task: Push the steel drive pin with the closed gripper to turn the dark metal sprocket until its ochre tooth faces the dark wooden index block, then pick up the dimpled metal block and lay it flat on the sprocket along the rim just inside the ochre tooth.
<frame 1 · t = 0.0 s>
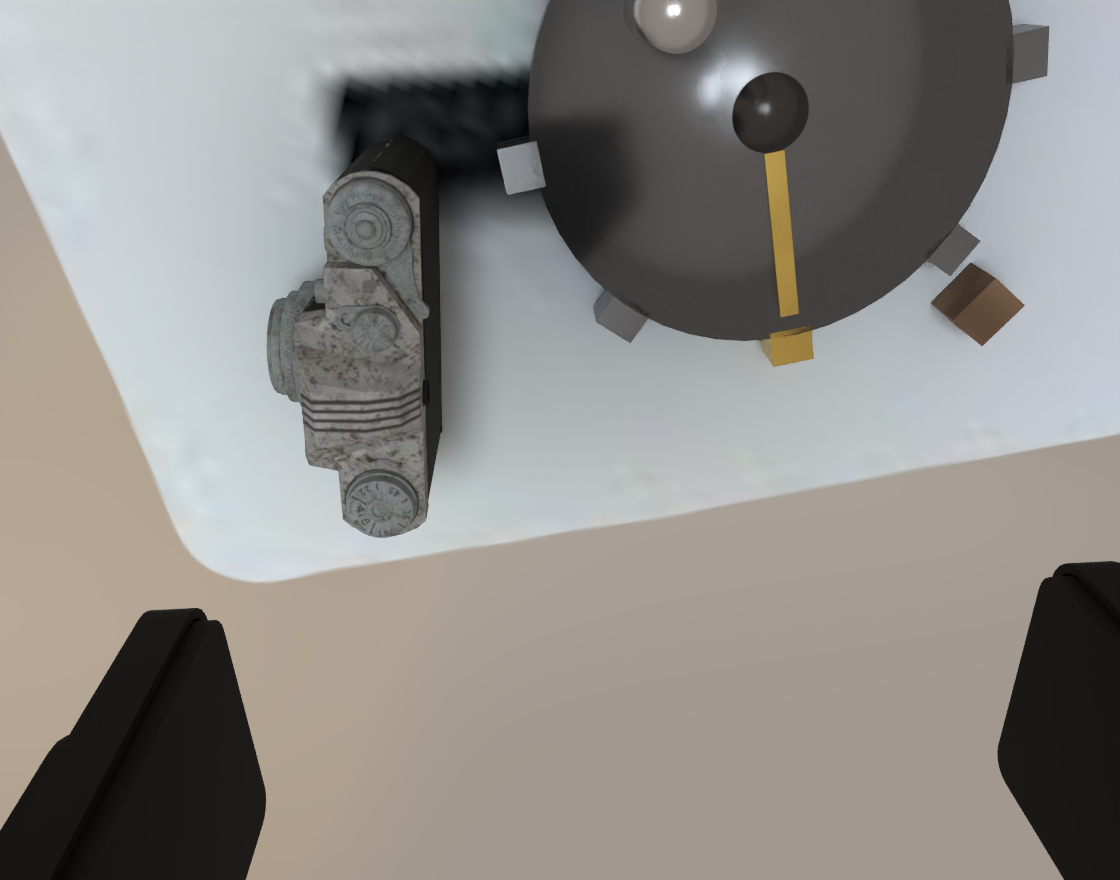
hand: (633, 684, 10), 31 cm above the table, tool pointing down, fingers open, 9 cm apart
sprocket: (782, 119, 33), point 4 cm above the table, hinge at 0.0°
index block: (964, 295, 41), on the table
camera: (371, 302, 41), on the table
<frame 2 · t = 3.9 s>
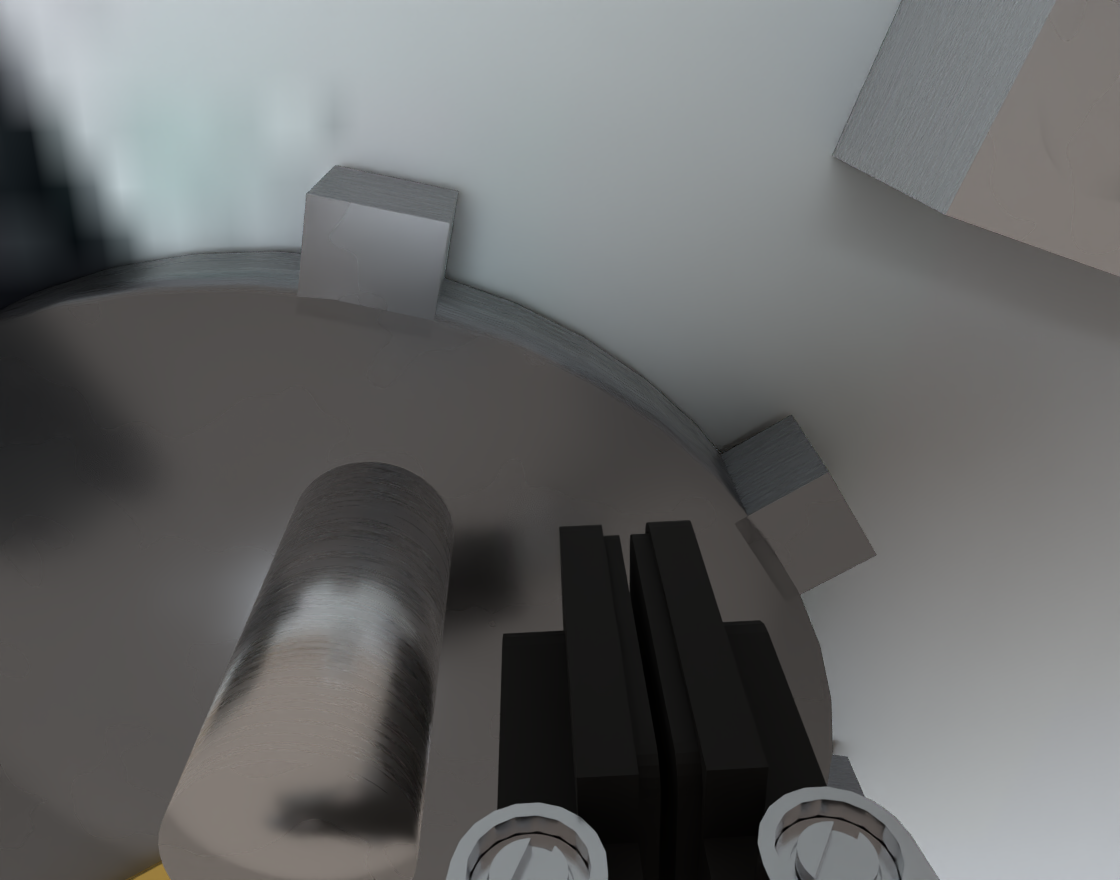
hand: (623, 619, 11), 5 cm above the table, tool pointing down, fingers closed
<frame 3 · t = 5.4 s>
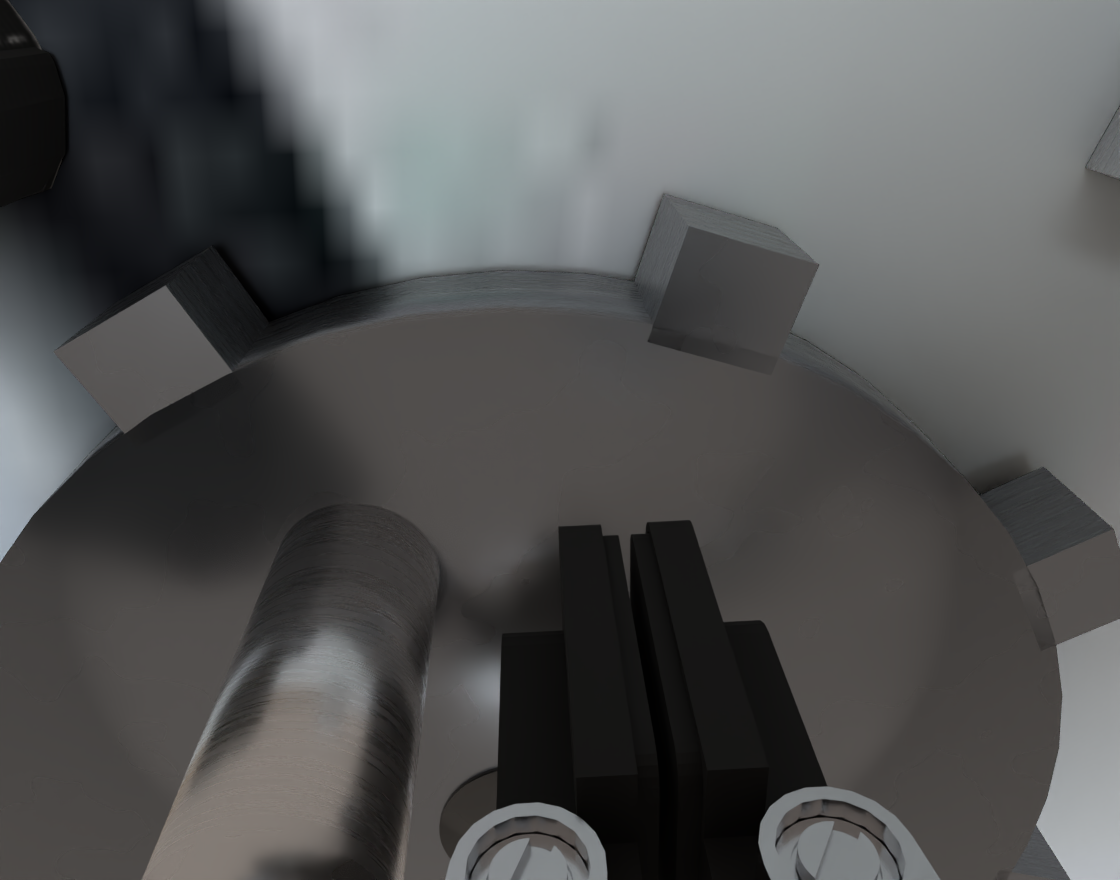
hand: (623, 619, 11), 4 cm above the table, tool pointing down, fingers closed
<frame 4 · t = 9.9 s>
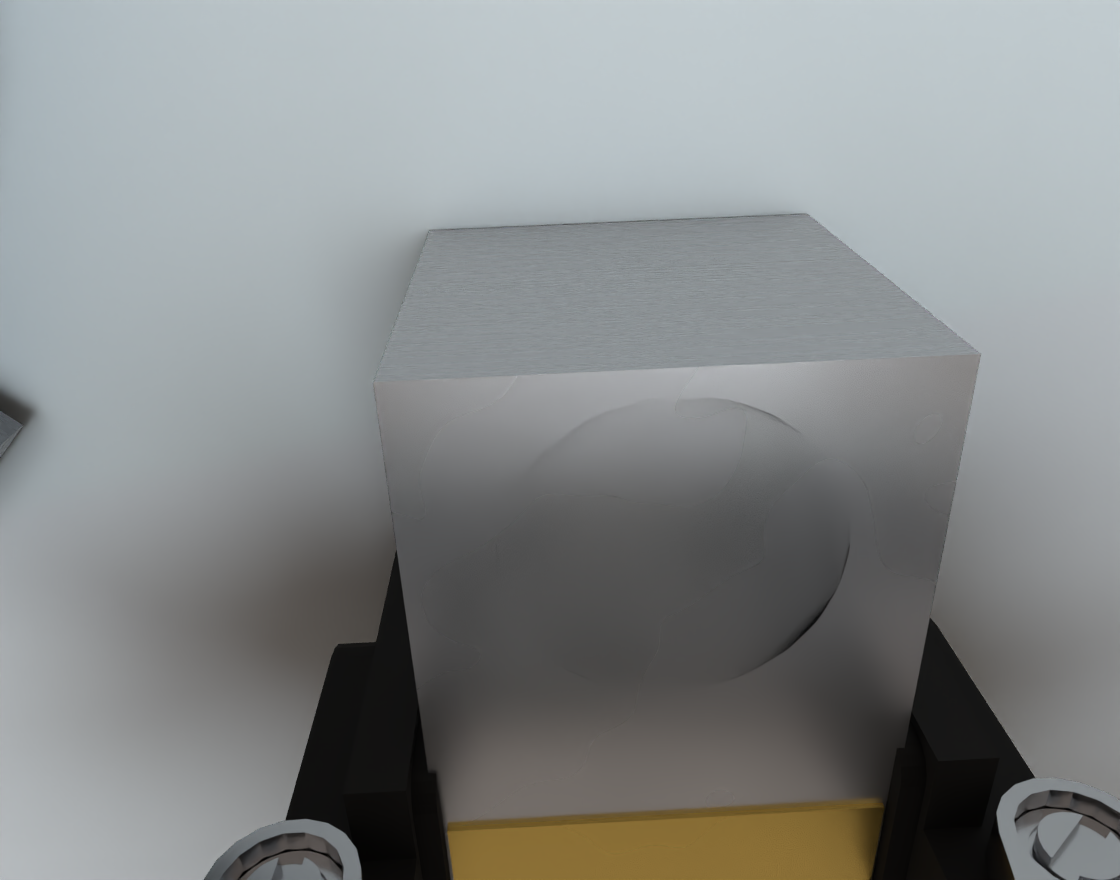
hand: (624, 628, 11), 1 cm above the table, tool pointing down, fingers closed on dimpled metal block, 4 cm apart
dimpled metal block: (621, 604, 12), on the table, touching gripper
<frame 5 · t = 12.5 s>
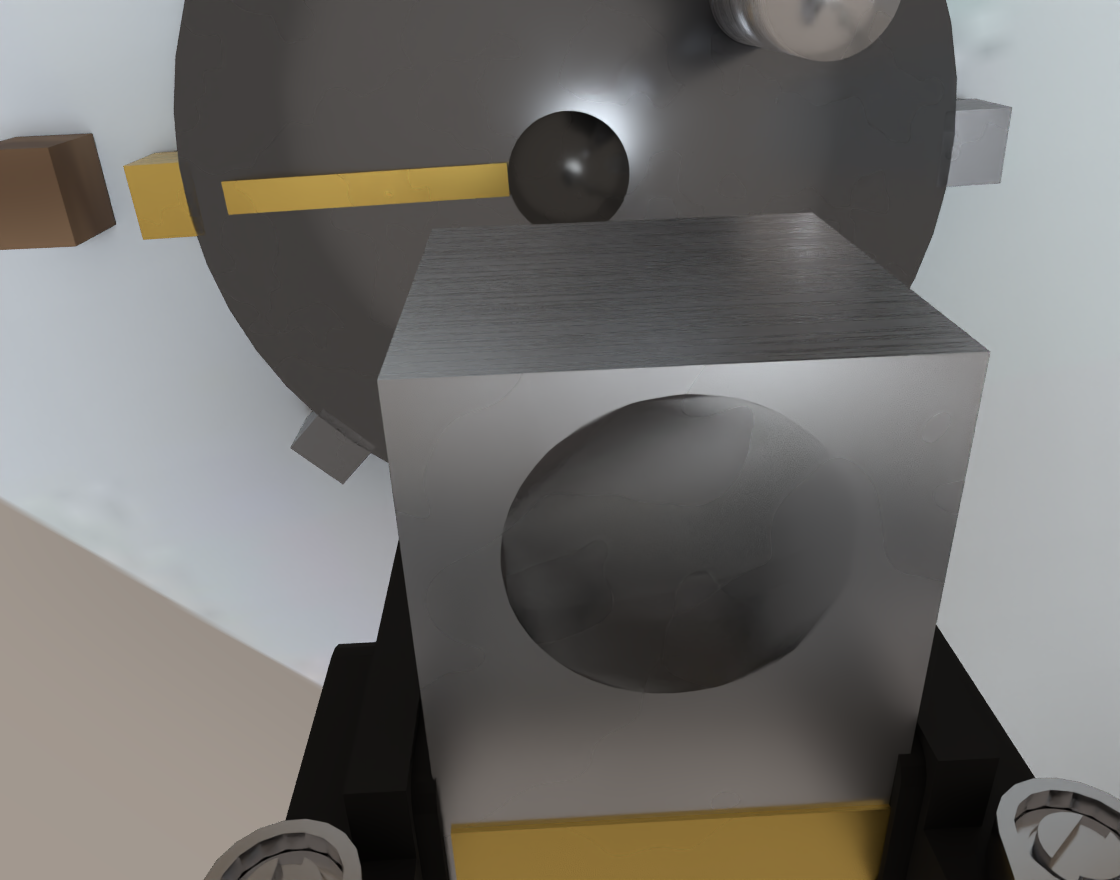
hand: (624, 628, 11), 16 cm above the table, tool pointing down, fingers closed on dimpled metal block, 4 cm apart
sprocket: (571, 189, 20), point 4 cm above the table, hinge at 41.1°
index block: (67, 181, 24), on the table
dimpled metal block: (623, 604, 12), point 16 cm above the table, touching gripper
when the fingers open (4 cm above the table, at t = 15.4 s): dimpled metal block drops 1 cm, resting on sprocket.
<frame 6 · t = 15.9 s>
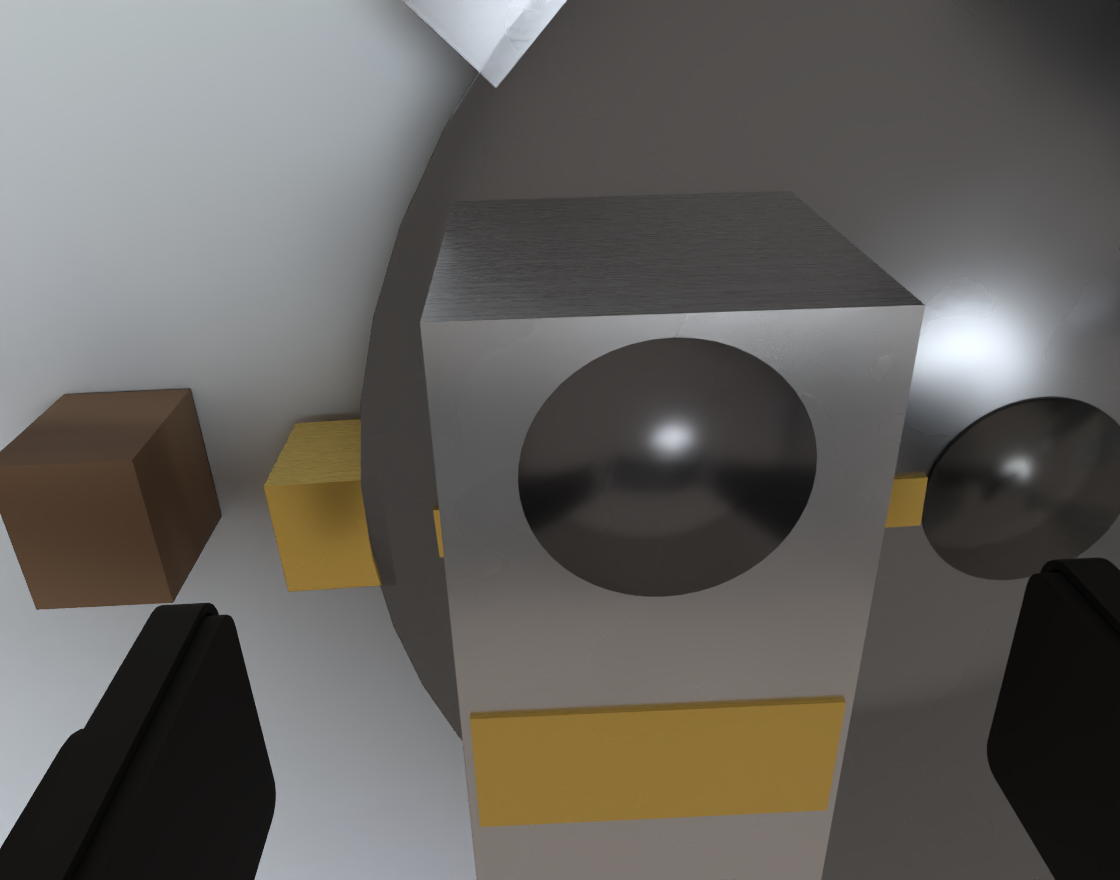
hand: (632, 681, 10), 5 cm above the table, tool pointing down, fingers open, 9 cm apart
sprocket: (1095, 563, 11), point 4 cm above the table, hinge at 41.1°, touching dimpled metal block
index block: (145, 457, 15), on the table
dimpled metal block: (618, 544, 13), point 2 cm above the table, touching sprocket
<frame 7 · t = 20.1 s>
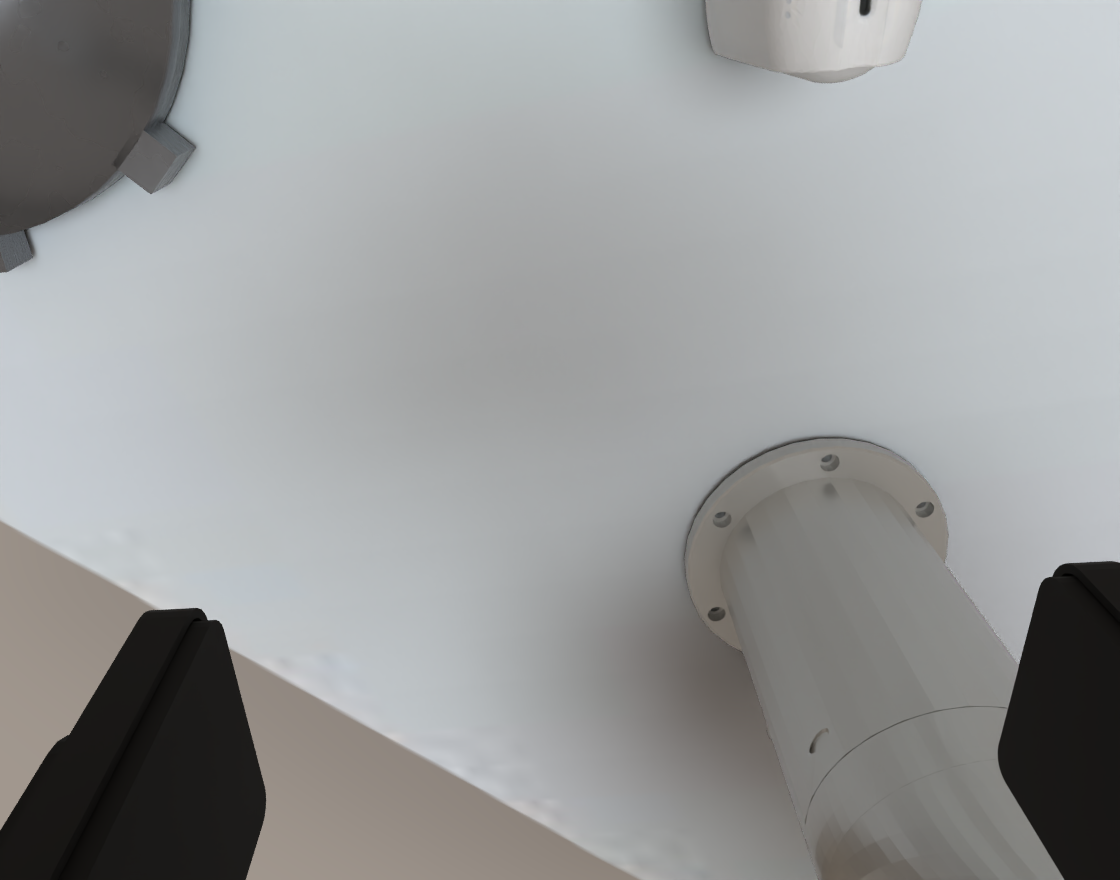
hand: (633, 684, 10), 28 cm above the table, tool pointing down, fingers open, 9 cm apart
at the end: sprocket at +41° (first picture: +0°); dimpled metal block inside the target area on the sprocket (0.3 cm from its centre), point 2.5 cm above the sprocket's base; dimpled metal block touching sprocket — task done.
